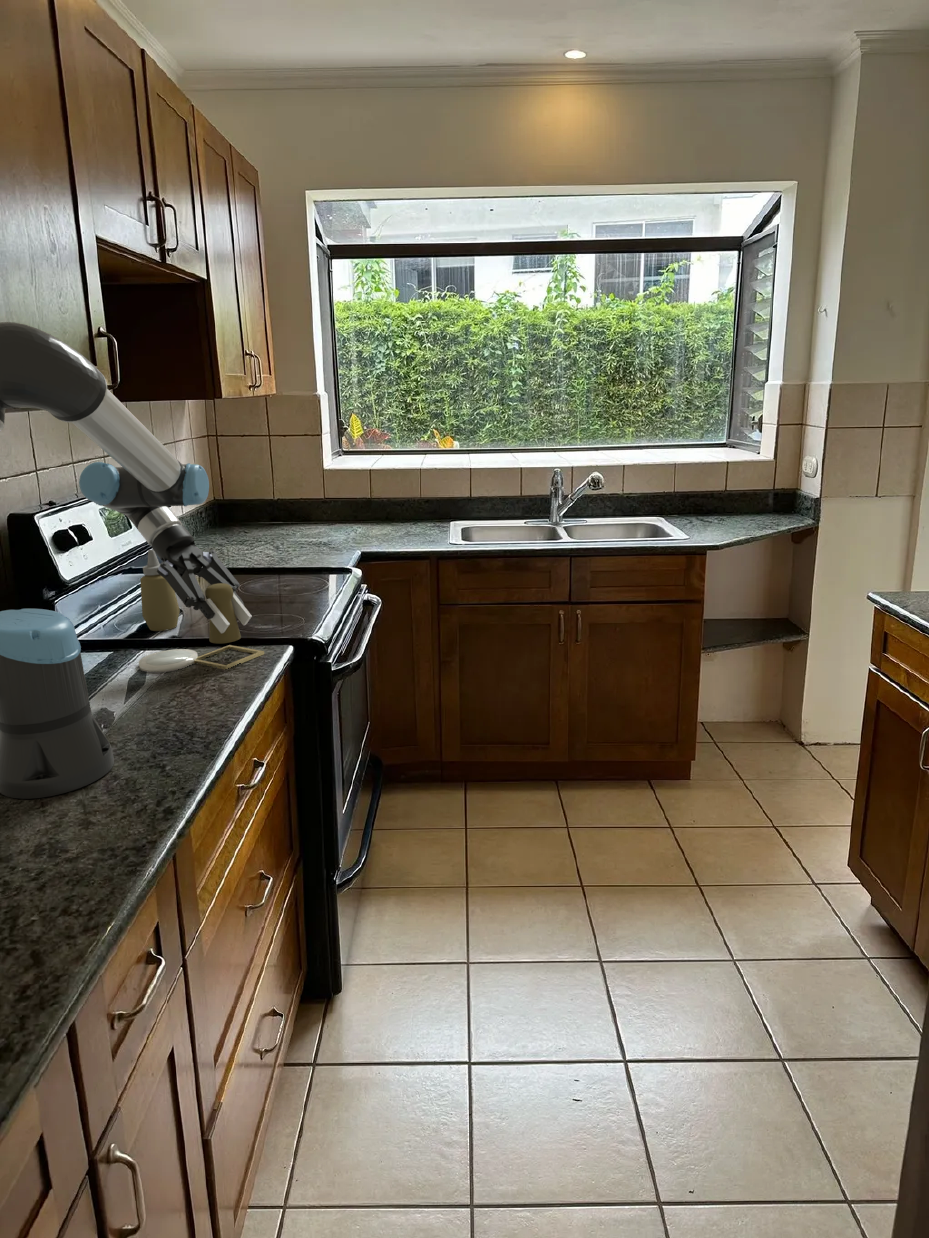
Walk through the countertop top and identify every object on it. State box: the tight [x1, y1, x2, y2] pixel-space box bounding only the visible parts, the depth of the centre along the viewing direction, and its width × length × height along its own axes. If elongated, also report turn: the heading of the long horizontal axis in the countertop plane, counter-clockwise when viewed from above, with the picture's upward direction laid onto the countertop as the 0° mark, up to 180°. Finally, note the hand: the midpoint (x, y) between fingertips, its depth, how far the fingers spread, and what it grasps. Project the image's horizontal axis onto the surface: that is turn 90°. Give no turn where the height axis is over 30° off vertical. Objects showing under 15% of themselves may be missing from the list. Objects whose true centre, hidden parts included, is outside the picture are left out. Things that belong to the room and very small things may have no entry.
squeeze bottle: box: [139, 549, 181, 632], centre depth 186 cm, size 8×8×18 cm
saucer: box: [138, 648, 199, 674], centre depth 164 cm, size 11×11×1 cm
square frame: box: [194, 644, 265, 670], centre depth 165 cm, size 10×10×1 cm
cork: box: [204, 583, 242, 644], centre depth 163 cm, size 6×6×11 cm
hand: (236, 624), depth 161 cm, fingers closed on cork, 5 cm apart
